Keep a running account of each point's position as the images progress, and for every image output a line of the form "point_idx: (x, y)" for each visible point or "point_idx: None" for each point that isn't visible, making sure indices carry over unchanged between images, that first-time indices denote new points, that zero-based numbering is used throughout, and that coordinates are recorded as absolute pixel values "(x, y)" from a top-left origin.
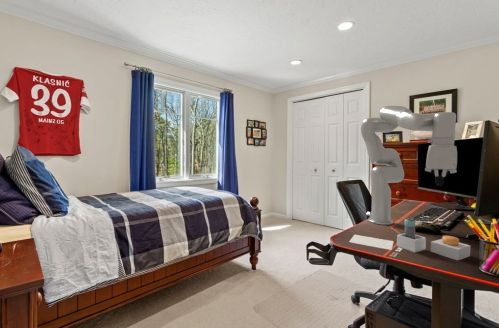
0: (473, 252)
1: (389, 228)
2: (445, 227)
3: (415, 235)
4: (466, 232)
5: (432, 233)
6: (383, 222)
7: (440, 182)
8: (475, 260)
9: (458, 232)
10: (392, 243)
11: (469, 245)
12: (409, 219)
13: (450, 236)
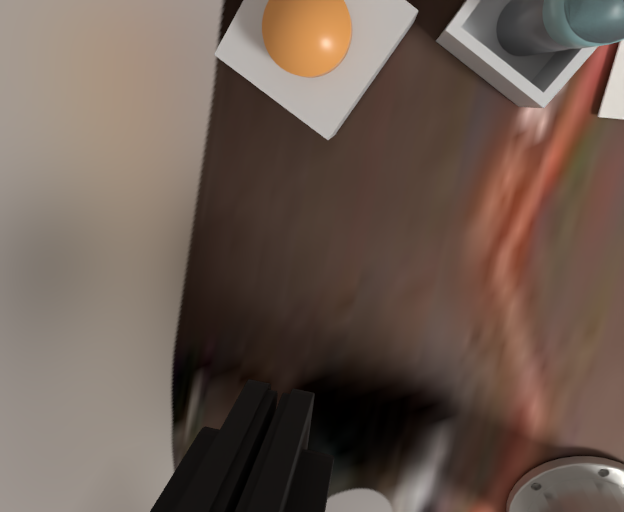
0: (208, 144)
1: (552, 397)
2: None
3: (503, 61)
4: None
5: (334, 387)
6: (578, 471)
7: (250, 421)
8: (222, 7)
9: None
10: (618, 60)
11: (218, 53)
12: (612, 3)
13: (299, 64)
